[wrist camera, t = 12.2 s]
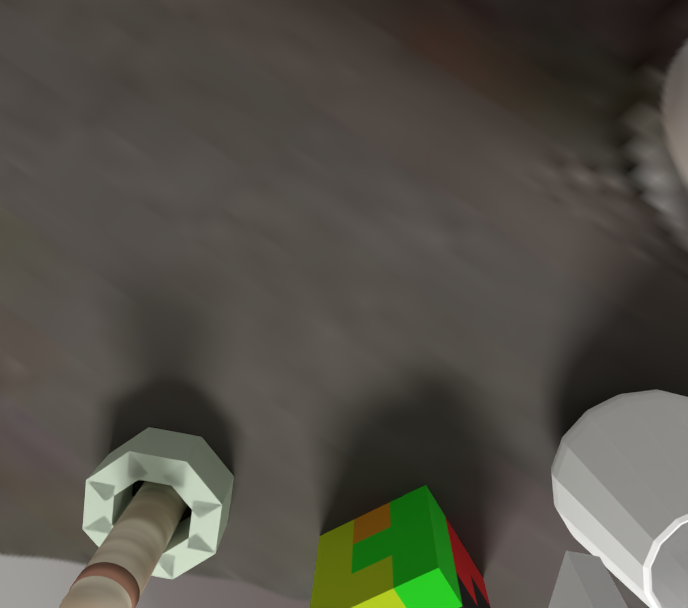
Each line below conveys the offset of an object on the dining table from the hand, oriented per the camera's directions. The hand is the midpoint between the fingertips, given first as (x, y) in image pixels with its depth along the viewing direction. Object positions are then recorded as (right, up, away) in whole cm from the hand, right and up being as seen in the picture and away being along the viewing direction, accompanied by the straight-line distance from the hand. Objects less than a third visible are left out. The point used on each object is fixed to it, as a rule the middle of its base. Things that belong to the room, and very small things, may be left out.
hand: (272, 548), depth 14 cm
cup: (+23, -6, +33) cm, 41 cm away
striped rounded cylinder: (-13, -10, +36) cm, 39 cm away
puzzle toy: (+6, -16, +37) cm, 40 cm away
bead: (-13, -10, +36) cm, 39 cm away
